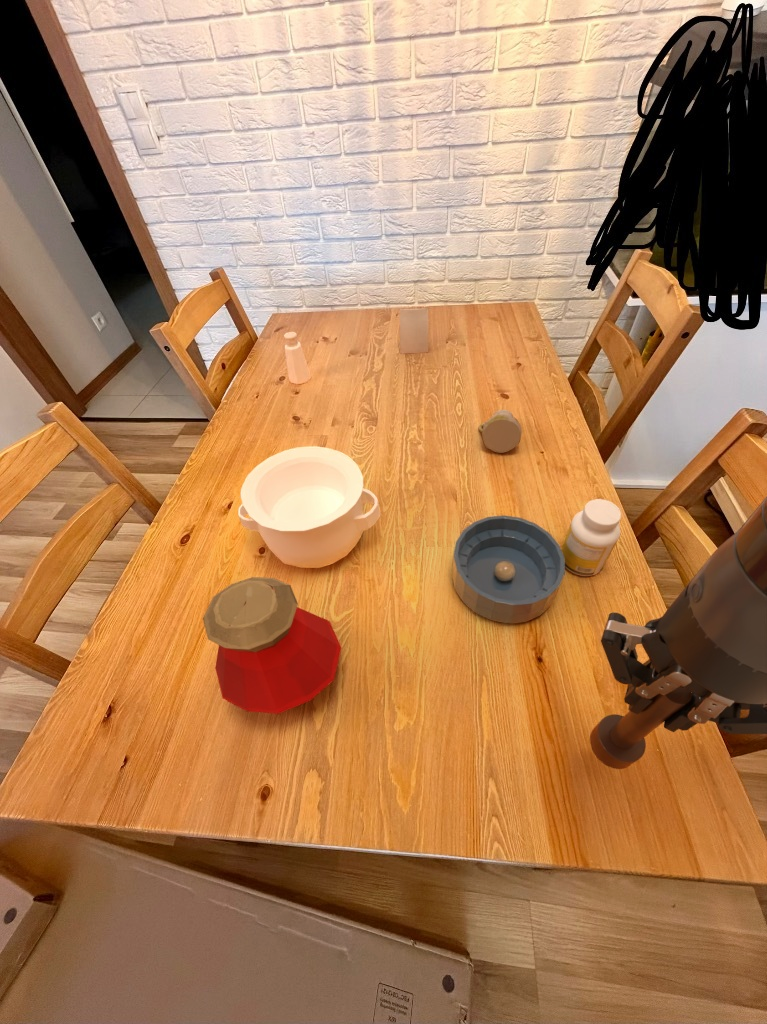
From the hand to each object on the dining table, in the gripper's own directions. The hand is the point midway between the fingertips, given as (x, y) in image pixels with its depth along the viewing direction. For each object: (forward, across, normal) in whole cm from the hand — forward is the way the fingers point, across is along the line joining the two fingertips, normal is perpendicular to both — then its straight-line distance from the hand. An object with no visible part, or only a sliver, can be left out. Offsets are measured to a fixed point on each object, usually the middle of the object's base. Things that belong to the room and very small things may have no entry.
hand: (651, 710), depth 39 cm
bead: (+16, +18, -18) cm, 30 cm away
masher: (+11, 0, 0) cm, 11 cm away
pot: (+18, +48, -11) cm, 53 cm away
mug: (+18, +31, -48) cm, 60 cm away
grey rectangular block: (+18, +62, -70) cm, 95 cm away
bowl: (+18, +18, -18) cm, 31 cm away
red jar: (+18, +37, +10) cm, 43 cm away
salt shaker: (+18, +80, -47) cm, 95 cm away
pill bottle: (+18, +9, -27) cm, 34 cm away
